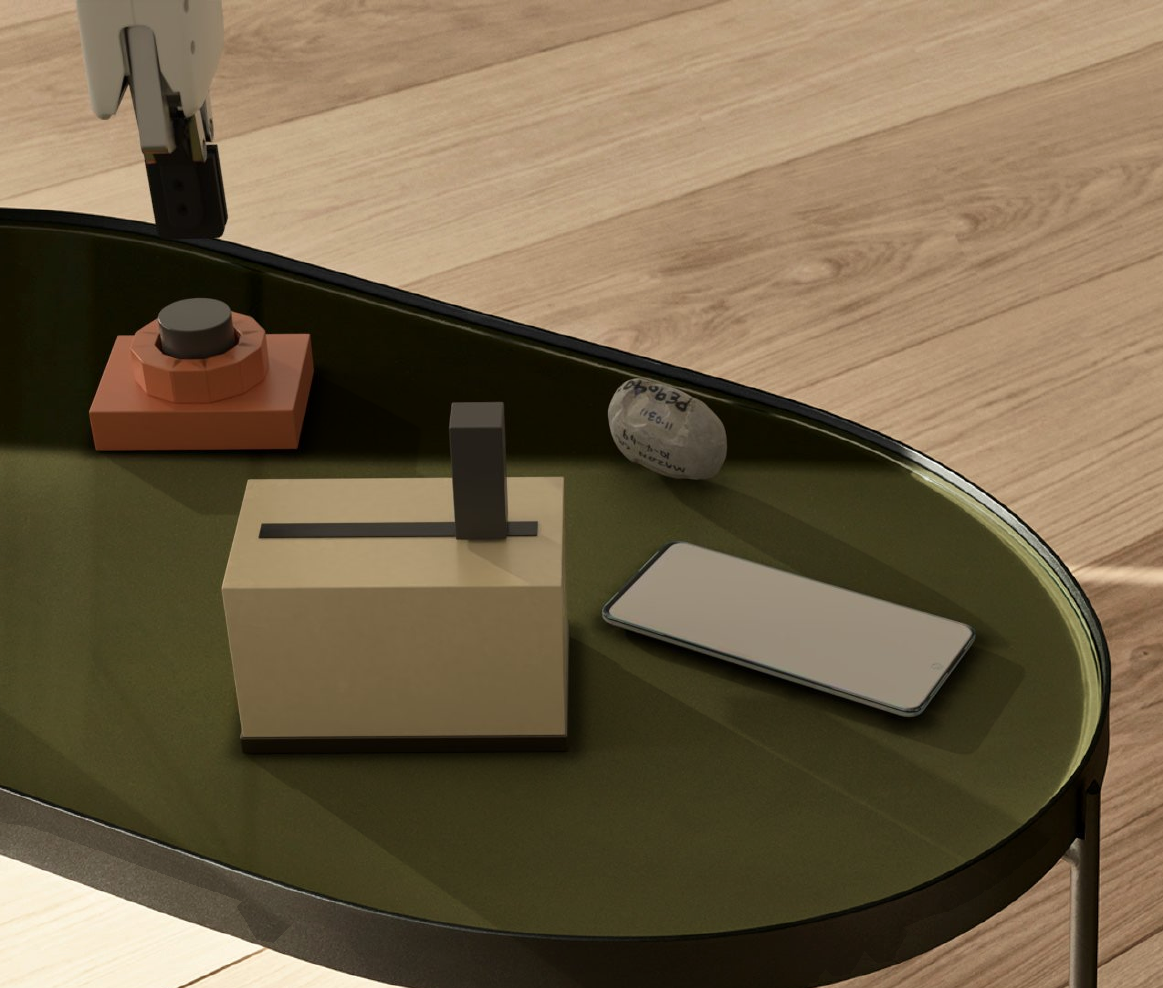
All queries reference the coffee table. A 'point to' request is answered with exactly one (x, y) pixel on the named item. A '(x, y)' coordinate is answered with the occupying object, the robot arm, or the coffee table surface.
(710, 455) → the fossil
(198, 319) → the timer button
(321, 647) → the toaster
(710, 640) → the smartphone
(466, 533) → the slider
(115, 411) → the timer box
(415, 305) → the coffee table surface
